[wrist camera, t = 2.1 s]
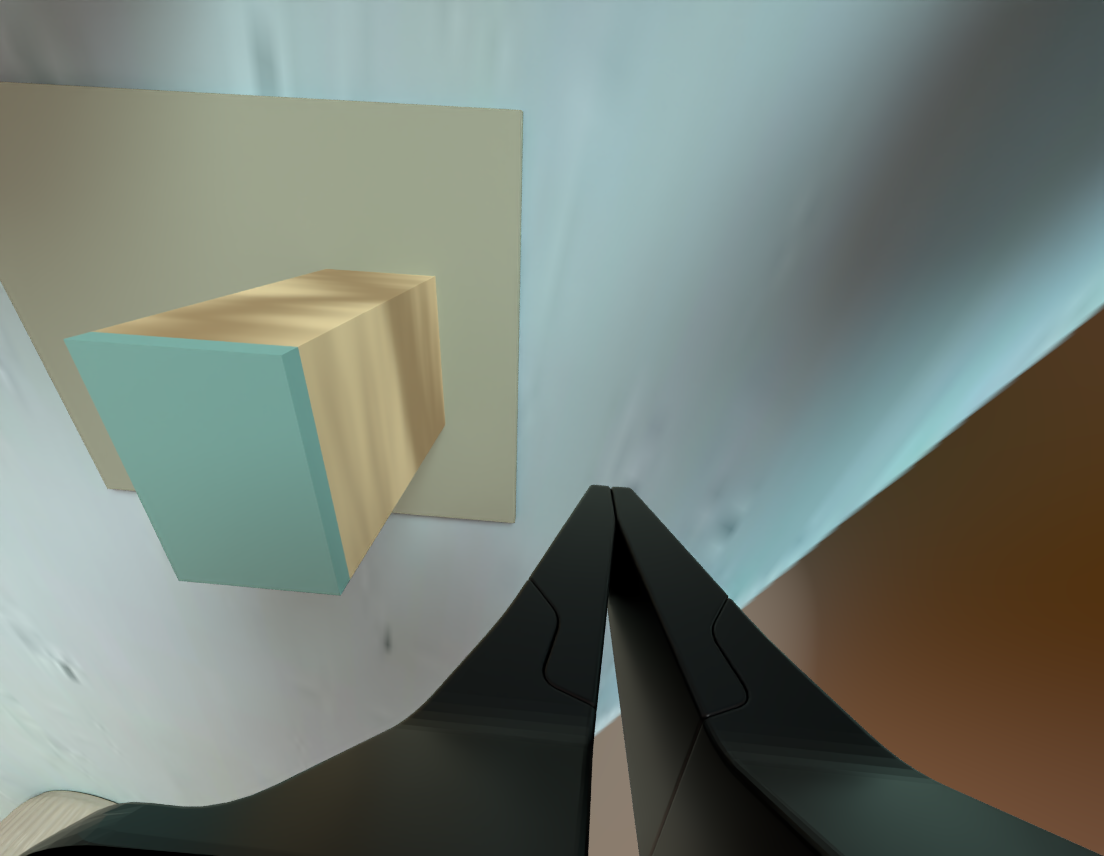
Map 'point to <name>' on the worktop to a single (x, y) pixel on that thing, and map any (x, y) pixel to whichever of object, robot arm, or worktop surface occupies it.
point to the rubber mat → (271, 237)
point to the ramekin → (44, 818)
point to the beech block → (273, 421)
